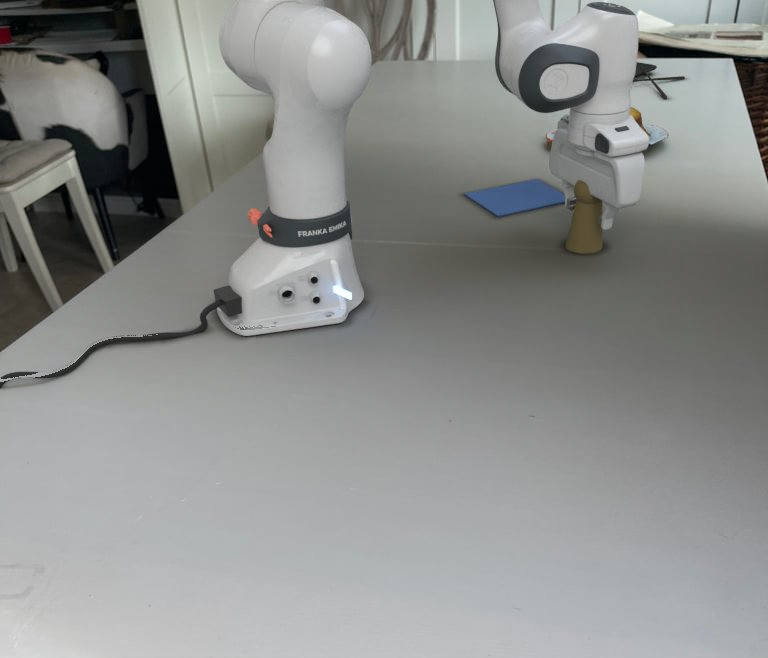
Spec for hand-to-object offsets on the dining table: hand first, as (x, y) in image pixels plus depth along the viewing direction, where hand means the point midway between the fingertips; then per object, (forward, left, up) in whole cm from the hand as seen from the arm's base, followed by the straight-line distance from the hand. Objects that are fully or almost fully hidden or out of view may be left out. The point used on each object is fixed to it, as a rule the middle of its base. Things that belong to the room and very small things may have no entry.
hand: (587, 217), depth 131 cm
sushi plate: (+69, +82, -5) cm, 107 cm away
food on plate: (+34, +43, -5) cm, 55 cm away
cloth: (+2, +25, -5) cm, 25 cm away
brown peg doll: (0, 0, -5) cm, 5 cm away
